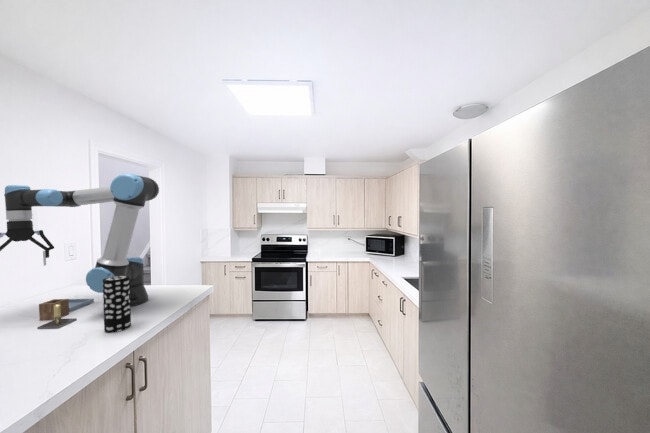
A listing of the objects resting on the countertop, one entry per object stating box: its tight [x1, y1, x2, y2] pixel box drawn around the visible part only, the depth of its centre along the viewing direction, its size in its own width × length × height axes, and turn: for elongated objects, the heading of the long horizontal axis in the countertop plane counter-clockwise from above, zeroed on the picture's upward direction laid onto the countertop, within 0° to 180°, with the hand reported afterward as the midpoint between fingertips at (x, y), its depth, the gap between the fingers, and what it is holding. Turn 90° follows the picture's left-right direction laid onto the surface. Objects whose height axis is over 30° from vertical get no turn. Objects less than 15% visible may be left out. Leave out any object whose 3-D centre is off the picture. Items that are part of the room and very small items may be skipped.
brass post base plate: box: [37, 304, 77, 330], centre depth 108 cm, size 8×8×8 cm
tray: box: [67, 298, 95, 313], centre depth 127 cm, size 13×13×2 cm
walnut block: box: [38, 298, 70, 321], centre depth 116 cm, size 6×6×7 cm
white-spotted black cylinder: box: [102, 275, 132, 334], centre depth 104 cm, size 8×8×20 cm
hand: (22, 267), depth 117 cm, fingers open, 13 cm apart
